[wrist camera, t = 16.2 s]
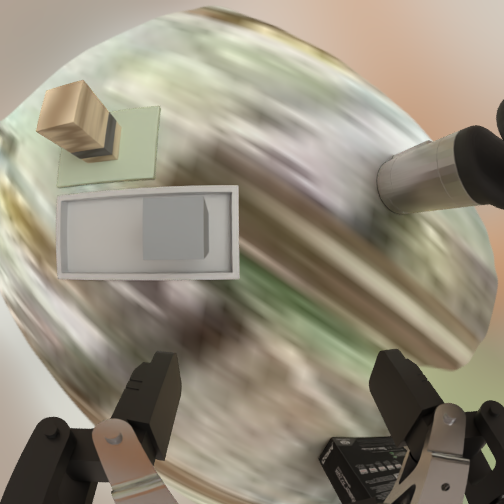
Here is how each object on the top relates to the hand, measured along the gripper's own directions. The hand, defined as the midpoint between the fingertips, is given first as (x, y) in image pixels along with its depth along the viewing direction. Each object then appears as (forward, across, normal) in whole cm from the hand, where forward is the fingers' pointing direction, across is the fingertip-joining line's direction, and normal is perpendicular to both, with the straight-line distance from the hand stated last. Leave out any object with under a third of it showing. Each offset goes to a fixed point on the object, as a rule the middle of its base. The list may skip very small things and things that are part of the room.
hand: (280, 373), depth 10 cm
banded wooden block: (+28, +22, -12) cm, 38 cm away
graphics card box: (+20, -22, +42) cm, 51 cm away
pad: (+29, +22, -12) cm, 38 cm away
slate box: (+26, +9, +1) cm, 28 cm away
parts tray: (+27, +15, +1) cm, 31 cm away
